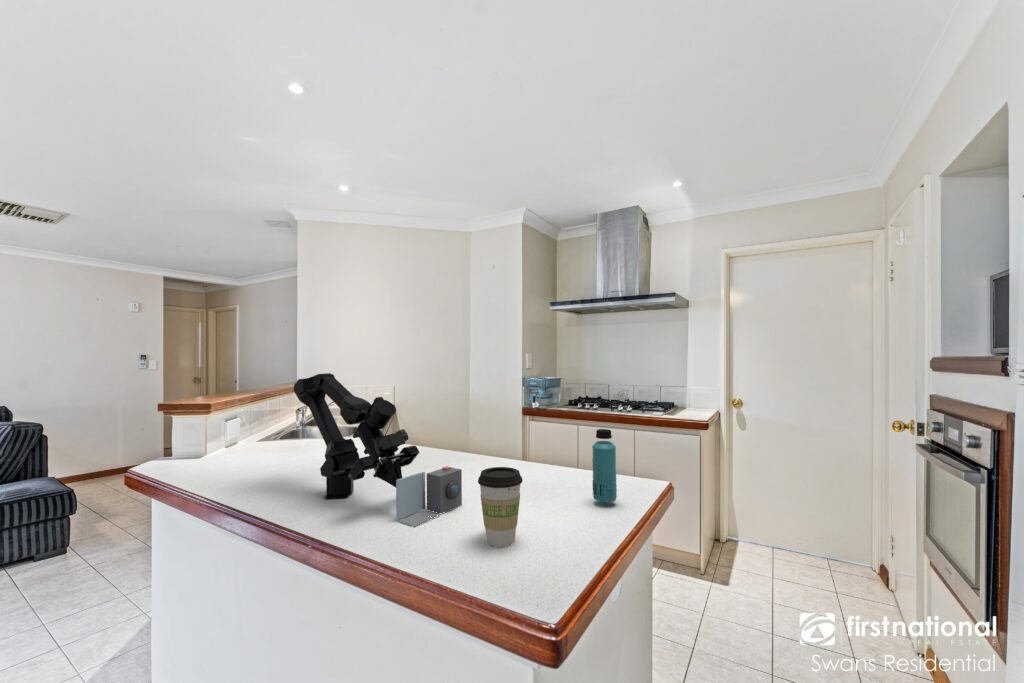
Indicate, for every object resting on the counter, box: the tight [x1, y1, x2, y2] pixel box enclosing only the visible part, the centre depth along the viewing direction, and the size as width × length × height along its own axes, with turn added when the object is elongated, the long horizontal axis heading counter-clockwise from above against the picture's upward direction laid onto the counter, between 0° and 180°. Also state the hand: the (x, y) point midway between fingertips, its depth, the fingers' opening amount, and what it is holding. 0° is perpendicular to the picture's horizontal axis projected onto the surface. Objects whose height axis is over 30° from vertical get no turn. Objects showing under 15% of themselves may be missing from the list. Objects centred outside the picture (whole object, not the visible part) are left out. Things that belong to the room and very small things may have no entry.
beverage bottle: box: [591, 428, 618, 503], centre depth 120 cm, size 6×7×20 cm
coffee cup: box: [477, 466, 523, 548], centre depth 98 cm, size 10×10×15 cm
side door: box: [395, 471, 426, 520], centre depth 113 cm, size 1×9×9 cm, turn 144°
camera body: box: [398, 465, 463, 528], centre depth 114 cm, size 6×17×10 cm, turn 144°
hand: (401, 488), depth 114 cm, fingers closed
